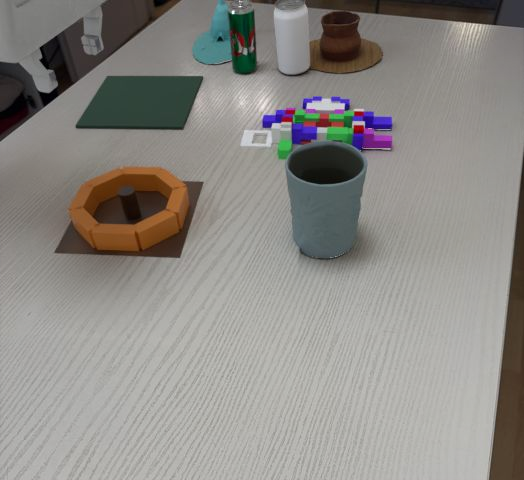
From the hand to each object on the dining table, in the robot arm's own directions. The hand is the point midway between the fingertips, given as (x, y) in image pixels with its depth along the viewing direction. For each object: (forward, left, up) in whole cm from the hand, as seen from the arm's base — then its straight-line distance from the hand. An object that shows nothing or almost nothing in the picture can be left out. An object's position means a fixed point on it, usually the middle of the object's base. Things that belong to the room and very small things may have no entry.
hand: (72, 70), depth 60 cm
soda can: (+11, +54, -23) cm, 60 cm away
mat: (-7, +40, -23) cm, 47 cm away
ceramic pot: (+30, +61, -23) cm, 72 cm away
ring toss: (+1, +4, -23) cm, 24 cm away
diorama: (+4, +66, -23) cm, 70 cm away
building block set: (+27, +30, -23) cm, 46 cm away
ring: (+1, +4, -22) cm, 23 cm away
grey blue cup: (+29, +1, -23) cm, 37 cm away
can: (+21, +54, -23) cm, 62 cm away
